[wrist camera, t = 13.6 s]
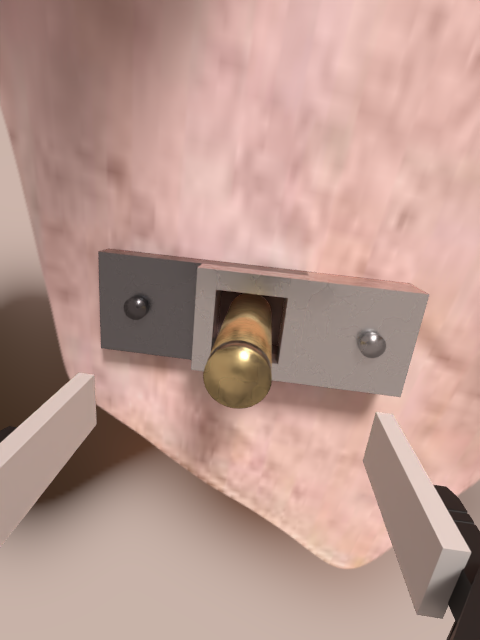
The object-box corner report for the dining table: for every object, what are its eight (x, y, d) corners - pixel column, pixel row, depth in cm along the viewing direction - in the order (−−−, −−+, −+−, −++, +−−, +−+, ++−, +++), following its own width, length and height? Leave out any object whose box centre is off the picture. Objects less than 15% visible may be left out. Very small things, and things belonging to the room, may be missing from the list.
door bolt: (108, 248, 32) (81, 256, 28) (409, 283, 31) (433, 297, 26) (110, 340, 35) (86, 360, 30) (385, 375, 34) (403, 402, 29)
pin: (219, 309, 33) (189, 372, 21) (253, 284, 32) (242, 333, 20) (246, 341, 34) (232, 419, 21) (280, 317, 33) (285, 384, 20)
